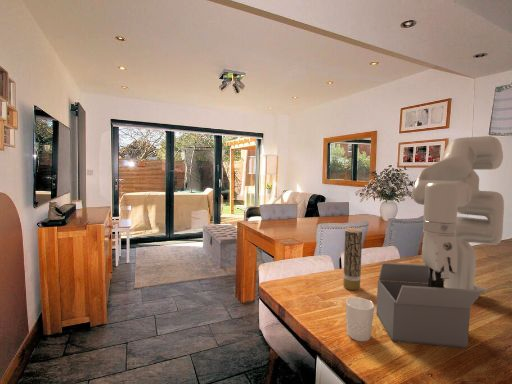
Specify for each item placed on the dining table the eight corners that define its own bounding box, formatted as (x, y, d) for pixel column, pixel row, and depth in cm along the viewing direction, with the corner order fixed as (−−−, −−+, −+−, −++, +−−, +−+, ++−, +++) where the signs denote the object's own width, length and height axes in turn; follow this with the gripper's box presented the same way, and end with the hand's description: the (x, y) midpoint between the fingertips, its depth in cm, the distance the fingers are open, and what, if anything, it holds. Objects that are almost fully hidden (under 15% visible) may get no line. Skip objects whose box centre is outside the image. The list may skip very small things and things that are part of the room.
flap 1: (379, 280, 96) (378, 278, 97) (439, 283, 94) (438, 282, 94) (382, 263, 92) (382, 262, 93) (445, 267, 90) (444, 265, 90)
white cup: (340, 328, 88) (341, 297, 87) (364, 327, 89) (366, 296, 88) (351, 343, 80) (352, 309, 79) (377, 342, 81) (379, 309, 80)
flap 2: (468, 306, 78) (469, 308, 77) (395, 301, 80) (396, 303, 80) (479, 290, 73) (481, 292, 73) (402, 285, 76) (402, 287, 75)
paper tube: (361, 291, 115) (363, 231, 113) (344, 289, 117) (346, 230, 115) (358, 284, 122) (360, 228, 120) (342, 283, 123) (344, 227, 121)
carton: (438, 318, 94) (440, 284, 93) (467, 348, 79) (470, 306, 78) (376, 314, 97) (377, 280, 96) (392, 341, 81) (394, 301, 80)
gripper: (471, 234, 68) (466, 307, 69) (439, 223, 82) (436, 283, 84) (438, 233, 69) (433, 305, 70) (412, 222, 84) (409, 281, 85)
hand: (435, 293), depth 77 cm, fingers closed
